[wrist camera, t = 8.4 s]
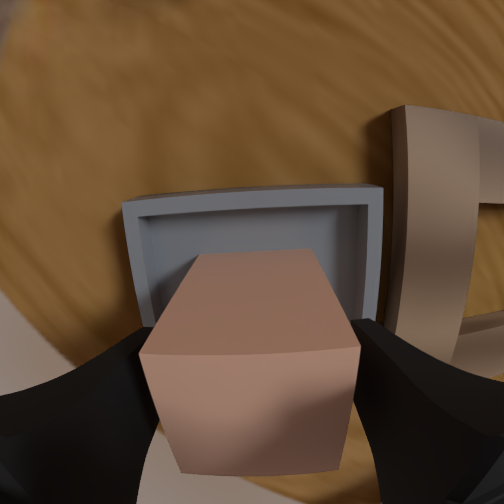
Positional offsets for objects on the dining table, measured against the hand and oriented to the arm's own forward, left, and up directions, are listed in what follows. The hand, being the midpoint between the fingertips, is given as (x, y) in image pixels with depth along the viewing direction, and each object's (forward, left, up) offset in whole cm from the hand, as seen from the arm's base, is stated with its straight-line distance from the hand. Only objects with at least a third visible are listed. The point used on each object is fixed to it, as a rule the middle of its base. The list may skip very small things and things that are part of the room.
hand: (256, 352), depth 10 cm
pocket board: (+1, -13, -4) cm, 14 cm away
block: (0, 0, -4) cm, 4 cm away
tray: (0, 0, -4) cm, 4 cm away
